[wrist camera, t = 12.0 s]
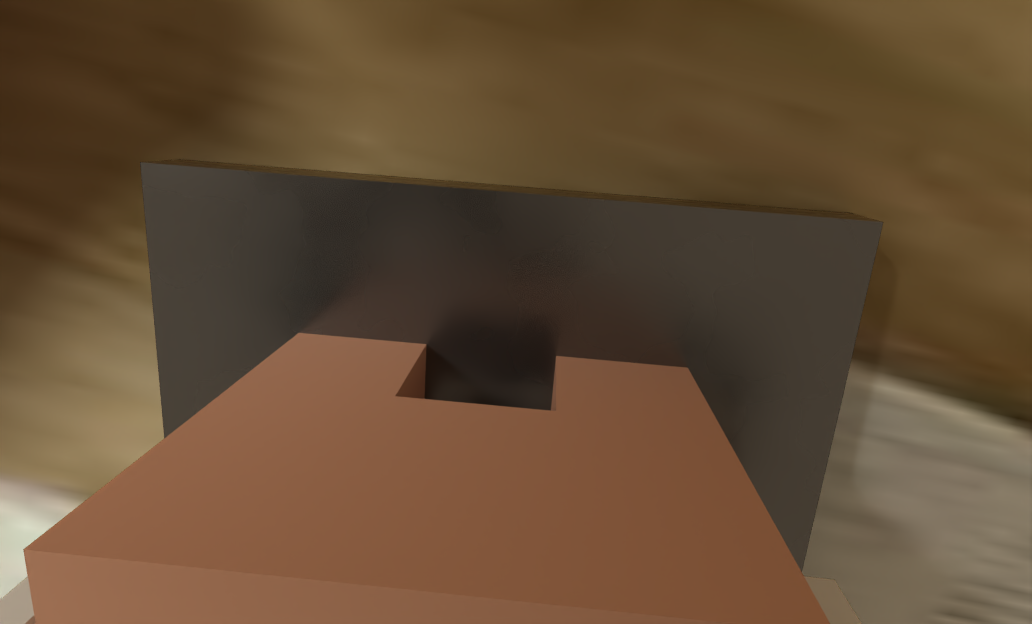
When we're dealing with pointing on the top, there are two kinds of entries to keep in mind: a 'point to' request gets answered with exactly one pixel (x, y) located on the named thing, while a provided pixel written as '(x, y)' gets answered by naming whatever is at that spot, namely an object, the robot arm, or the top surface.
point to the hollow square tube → (426, 507)
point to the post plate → (518, 296)
